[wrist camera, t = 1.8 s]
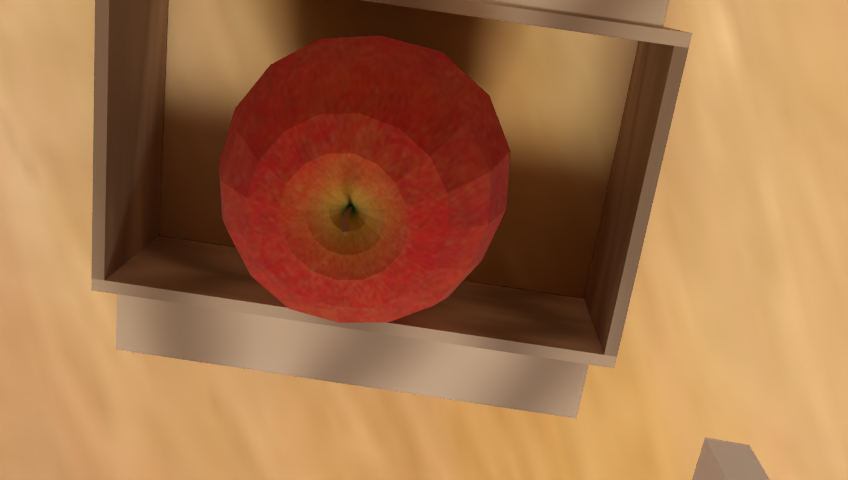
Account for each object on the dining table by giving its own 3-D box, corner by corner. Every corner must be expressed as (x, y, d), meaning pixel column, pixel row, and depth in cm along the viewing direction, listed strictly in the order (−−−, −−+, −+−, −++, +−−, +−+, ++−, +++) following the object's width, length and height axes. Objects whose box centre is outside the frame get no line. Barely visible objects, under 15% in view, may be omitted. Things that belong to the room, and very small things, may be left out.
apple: (445, -19, 34) (430, -21, 21) (539, 194, 36) (578, 315, 23) (231, 86, 36) (90, 146, 22) (334, 282, 38) (262, 441, 25)
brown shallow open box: (146, 293, 39) (90, 346, 33) (160, -112, 33) (96, -131, 28) (581, 358, 39) (601, 423, 33) (668, -38, 33) (709, -43, 28)
